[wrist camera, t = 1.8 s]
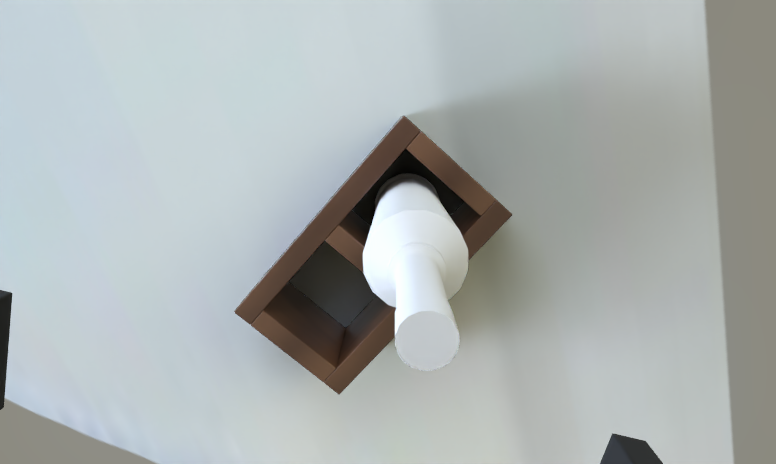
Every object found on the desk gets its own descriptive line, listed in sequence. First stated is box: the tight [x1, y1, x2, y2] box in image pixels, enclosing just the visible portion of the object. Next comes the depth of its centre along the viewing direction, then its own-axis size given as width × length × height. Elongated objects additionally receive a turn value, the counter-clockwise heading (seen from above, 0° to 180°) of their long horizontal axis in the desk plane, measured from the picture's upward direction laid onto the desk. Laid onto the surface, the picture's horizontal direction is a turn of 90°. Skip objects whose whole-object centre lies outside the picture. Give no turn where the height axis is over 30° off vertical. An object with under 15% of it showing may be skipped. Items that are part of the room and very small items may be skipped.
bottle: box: [363, 173, 468, 371], centre depth 27 cm, size 5×5×25 cm
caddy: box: [234, 116, 512, 394], centre depth 37 cm, size 10×18×7 cm, turn 139°
